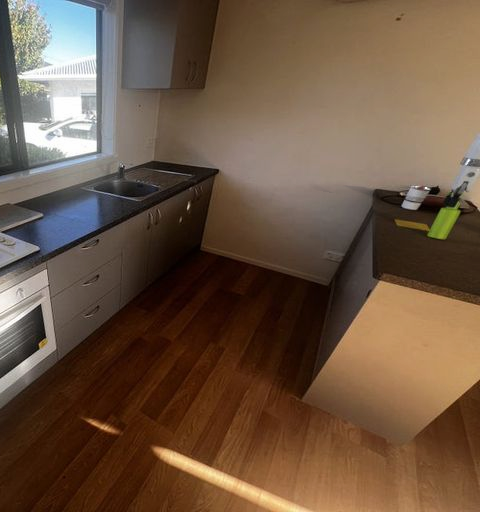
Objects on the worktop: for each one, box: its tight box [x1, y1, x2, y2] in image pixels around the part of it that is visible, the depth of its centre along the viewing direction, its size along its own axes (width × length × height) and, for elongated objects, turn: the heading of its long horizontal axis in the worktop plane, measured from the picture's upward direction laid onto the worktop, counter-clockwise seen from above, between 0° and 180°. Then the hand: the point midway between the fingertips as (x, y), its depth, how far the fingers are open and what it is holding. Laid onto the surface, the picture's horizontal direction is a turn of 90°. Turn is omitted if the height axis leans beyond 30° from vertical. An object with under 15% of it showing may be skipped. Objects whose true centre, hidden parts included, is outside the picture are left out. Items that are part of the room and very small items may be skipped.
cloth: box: [394, 219, 431, 232], centre depth 147 cm, size 12×10×1 cm
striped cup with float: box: [400, 185, 432, 211], centre depth 166 cm, size 10×8×12 cm
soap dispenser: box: [426, 192, 465, 240], centre depth 130 cm, size 6×7×20 cm
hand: (448, 205), depth 128 cm, fingers closed on soap dispenser, 3 cm apart
